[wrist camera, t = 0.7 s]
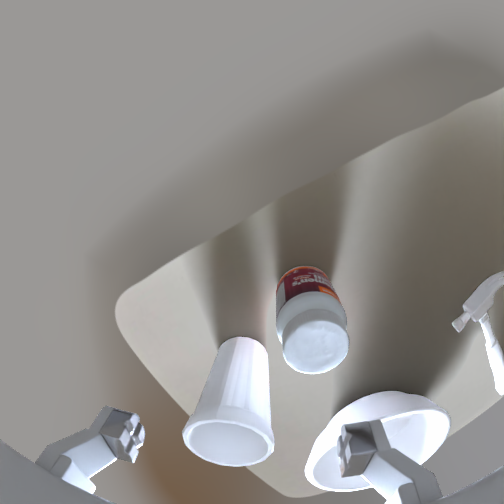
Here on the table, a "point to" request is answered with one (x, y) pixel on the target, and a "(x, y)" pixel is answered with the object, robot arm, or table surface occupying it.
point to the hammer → (485, 323)
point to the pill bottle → (310, 321)
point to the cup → (234, 407)
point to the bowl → (395, 425)
